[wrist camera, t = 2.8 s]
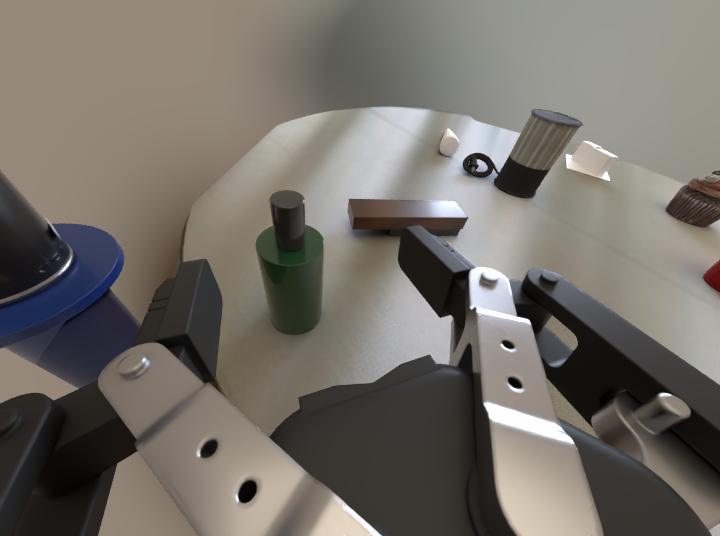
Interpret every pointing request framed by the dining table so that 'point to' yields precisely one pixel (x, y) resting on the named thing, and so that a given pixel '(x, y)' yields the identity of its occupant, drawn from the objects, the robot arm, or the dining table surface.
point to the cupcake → (698, 201)
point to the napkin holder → (591, 160)
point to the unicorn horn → (449, 143)
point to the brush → (406, 215)
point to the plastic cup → (713, 276)
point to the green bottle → (291, 265)
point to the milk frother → (530, 153)
